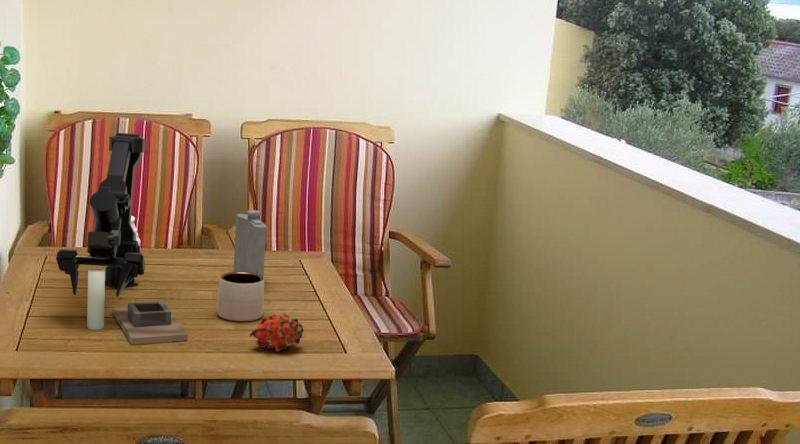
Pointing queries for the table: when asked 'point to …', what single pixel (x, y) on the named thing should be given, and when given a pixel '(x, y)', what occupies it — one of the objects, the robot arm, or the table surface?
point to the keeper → (149, 323)
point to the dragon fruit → (278, 332)
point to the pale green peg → (96, 299)
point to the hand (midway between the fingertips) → (95, 295)
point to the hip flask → (249, 243)
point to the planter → (240, 296)
